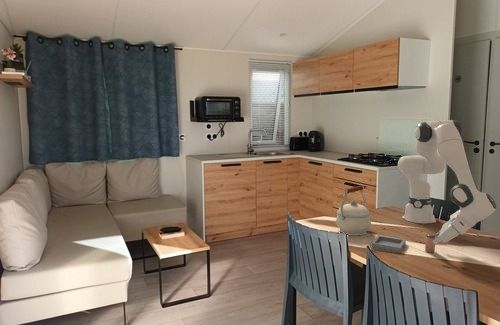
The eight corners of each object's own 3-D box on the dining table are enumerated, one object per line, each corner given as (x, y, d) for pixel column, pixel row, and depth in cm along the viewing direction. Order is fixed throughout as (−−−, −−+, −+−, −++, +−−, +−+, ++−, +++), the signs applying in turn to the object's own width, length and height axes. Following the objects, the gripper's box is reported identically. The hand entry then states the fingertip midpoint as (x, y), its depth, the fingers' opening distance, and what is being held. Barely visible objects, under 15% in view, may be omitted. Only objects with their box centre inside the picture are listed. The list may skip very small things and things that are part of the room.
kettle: (356, 240, 192) (357, 192, 189) (327, 232, 206) (327, 187, 203) (381, 230, 208) (383, 185, 205) (353, 223, 222) (354, 181, 219)
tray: (377, 239, 193) (378, 235, 192) (405, 244, 186) (405, 239, 185) (371, 248, 181) (371, 242, 181) (400, 253, 175) (400, 247, 174)
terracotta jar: (425, 249, 179) (426, 233, 178) (435, 251, 177) (435, 234, 175) (424, 252, 175) (425, 235, 174) (434, 253, 173) (435, 237, 172)
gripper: (456, 211, 177) (432, 228, 184) (453, 222, 160) (427, 240, 167) (466, 221, 176) (442, 238, 182) (464, 233, 158) (437, 251, 165)
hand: (434, 239), depth 174 cm, fingers open, 8 cm apart
